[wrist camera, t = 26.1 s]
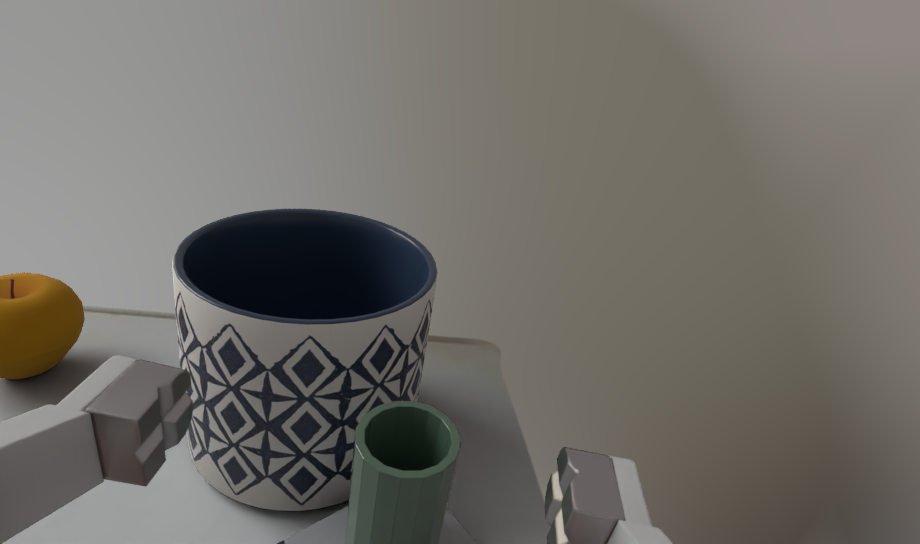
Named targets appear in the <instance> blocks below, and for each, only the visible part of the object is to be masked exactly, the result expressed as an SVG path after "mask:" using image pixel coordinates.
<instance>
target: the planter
mask: <svg viewBox="0 0 920 544" xmlns="http://www.w3.org/2000/svg"><path fill="white" fill-rule="evenodd" d="M172 265H173V266H172V270H173V285H174V297H175V310H176V321H177V332H178V344H179V355H180V366H181V369H184V370H186V371H188V372H190V376H191V384H192V385H191V386H190V387H189V388H188V390H187V391H186V393H187V394H188V395H189V396H190V398H191V399H192V400H193V414H192V420H191V422H190V424H189V427H188V429H187V439H188V448H189V451H190V455H191V459H192V461H193V463H194V465H195V466H196V468H197V470H198V472H199V473H200V474H201V475H202V476H203V477H204V479H205V480H206V481H207V482H208V483H209V484H210V485H211V486H213V487H214V488H216V489H217V490H218V491H220V492H221V493H223V494H224V495H226V496H228V497H230V498H232V499H234V500H237V501H239V502H241V503H244V504H248V505H251V506H255V507H258V508H264V509H271V510H278V511H302V510H311V509H319V508H324V507H328V506H332V505H335V504H339V503H342V502H345V501H347V500H349V491H350V480H351V470H352V460H353V450H354V439H355V430H356V427H357V426H358V424H359V422H360V421H361V419H362V417H363V416H364V415H365V414H366V413H368V412H369V411H371V410H372V409H374V408H375V407H377V406H379V405H382V404H386V403H389V402H393V401H414V402H415V401H416V402H417V400H418V394H419V388H420V382H421V375H422V369H423V363H424V357H425V351H426V344H427V338H428V332H429V326H430V319H431V313H432V306H433V300H434V294H435V287H436V279H437V267H436V263H435V261H434V259H433V257H432V255H431V253H430V252H429V251H428V250H427V249H426V247H425V246H424V245H422V244H421V243H420V242H419V241H417V240H416V239H415V238H413V237H412V236H410V235H408V234H407V233H405V232H403V231H401V230H399V229H397V228H395V227H393V226H390V225H387V224H385V223H382V222H379V221H376V220H373V219H369V218H365V217H362V216H357V215H352V214H347V213H342V212H336V211H326V210H315V209H276V210H264V211H255V212H249V213H244V214H239V215H234V216H231V217H227V218H224V219H220V220H218V221H215V222H212V223H210V224H207V225H205V226H203V227H202V228H200V229H198V230H196V231H194V232H193V233H192V234H190V235H189V236H188V237H187V238H185V239H184V240H183V241H182V243H181V244H180V245H179V246H178V248H177V249H176V252H175V254H174V256H173V264H172Z"/></svg>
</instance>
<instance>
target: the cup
mask: <svg viewBox="0 0 920 544" xmlns="http://www.w3.org/2000/svg"><path fill="white" fill-rule="evenodd" d="M460 446H461V442H460V438H459V433H458V429H457V428H456V426H455V425H454V424H453V422H452V421H451V420H450V419H449V417H448V416H447V415H445V414H444V413H442V412H440V411H439V410H437V409H436V408H434V407H432V406H429V405H426V404H422V403H419V402H416V401H415V402H414V401H393V402H389V403H386V404H382V405H379V406H377V407H375V408H374V409H372V410H371V411H369V412H368V413H366V414H365V415H364V416H363V417H362V419H361V421H360V422H359V424H358V426H357V427H356V430H355V439H354V450H353V460H352V470H351V480H350V491H349V501H348V511H347V521H346V532H345V542H344V544H439V542H440V538H441V533H442V529H443V524H444V520H445V515H446V510H447V506H448V501H449V497H450V492H451V488H452V483H453V478H454V474H455V469H456V465H457V460H458V456H459V451H460Z"/></svg>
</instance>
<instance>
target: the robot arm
mask: <svg viewBox="0 0 920 544" xmlns="http://www.w3.org/2000/svg"><path fill="white" fill-rule="evenodd" d="M191 385H192V384H191V376H190V372H188V371H186V370H184V369H179V368H175V367H171V366H166V365H162V364H158V363H153V362H149V361H145V360H138V359H134V358H129V357H125V356H121V355H116V356H113V357H110V358H109V359H108V360H107V361H105V362H104V363H103V364H102V365H101V366H100V367H99V368H98V369H96V370H95V371H94V372H93V373H92V374H91V375H90V376H89V377H87V378H86V379H85V380H84V381H83V382H82V383H81V384H80V385H78V386H77V387H76V388H75V389H74V390H73V391H72V392H71V393H70V394H68V395H67V396H66V397H65V398H64V399H63V400H62V401H61V402H59V403H58V404H57V405H50V404H48V405H45V406H42V407H40V408H37V409H34V410H31V411H29V412H26V413H23V414H21V415H18V416H15V417H13V418H10V419H7V420H4V421H2V422H0V544H1V543H3V542H5V541H6V540H8V539H10V538H11V537H13V536H15V535H16V534H18V533H20V532H21V531H23V530H25V529H26V528H28V527H30V526H31V525H33V524H34V523H36V522H38V521H39V520H41V519H43V518H44V517H46V516H48V515H49V514H51V513H53V512H54V511H56V510H58V509H59V508H61V507H63V506H64V505H66V504H67V503H69V502H71V501H72V500H74V499H76V498H77V497H79V496H81V495H82V494H84V493H86V492H87V491H89V490H91V489H92V488H94V487H96V486H97V485H99V484H101V483H102V482H103V481H104V479H106V480H112V481H118V482H123V483H129V484H135V485H141V486H147V485H148V483H149V482H150V481H151V479H152V478H153V477H154V475H155V474H156V473H157V471H158V470H159V469H160V467H161V466H162V465H163V463H164V462H165V461H166V458H165V450H167V449H169V448H171V447H173V446H175V445H177V444H178V443H179V442H180V441H181V439H182V438H183V436H184V435H185V434H186V432H187V429H188V427H189V424H190V422H191V420H192V414H193V400H192V399H191V398H190V396H189V395H188V394H187V393H186V391H187V390H188V388H189V387H190V386H191ZM557 464H558V470H557V471H555V472H553V473H552V474H551V476H550V479H549V482H548V486H547V491H546V497H545V518H546V520H547V521H548V523H549V524H550V525H551V528H550V531H549V533H548V536H547V544H673V543H672V542H671V541H670V539H669V538H668V537H667V536H666V535H665V534H664V533H663V532H662V530H661V529H660V528H656V527H653V526H652V523H651V519H650V515H649V511H648V508H647V504H646V501H645V497H644V493H643V490H642V486H641V482H640V478H639V475H638V471H637V467H636V464H635V463H634V461H633V460H630V459H625V458H619V457H614V456H607V455H603V454H598V453H593V452H587V451H583V450H577V449H572V448H567V447H563V448H562V450H561V451H560V453H559V456H558V458H557Z"/></svg>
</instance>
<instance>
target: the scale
mask: <svg viewBox="0 0 920 544" xmlns="http://www.w3.org/2000/svg"><path fill="white" fill-rule="evenodd" d="M347 511H348V506H347V507H345V508H343V509H341V510H339V511H337V512H335V513H334V514H332V515H330V516H328V517H326V518H324V519H322V520H320V521H318V522H316V523H315V524H313V525H311V526H309V527H307V528H305V529H303V530H301V531H299V532H297V533H295V534H294V535H292V536H290V537H288V538H286V539H285V540H283V541H281V542H279V543H278V544H344V542H345V532H346V521H347ZM439 544H478V543H477V542H476V541H475V540H474V539H473V538H472V537H471V535H470V534H469V533H468V532H467V531H466V530H465V529H464V527H463V526H462V525H461V524H460V523H459V522H458V521H457V519H456V518H455V517H454V516H453V515H452V514H451V513H450V511H449V510H448V509H447V510H446V515H445V520H444V524H443V529H442V533H441V538H440V542H439Z"/></svg>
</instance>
